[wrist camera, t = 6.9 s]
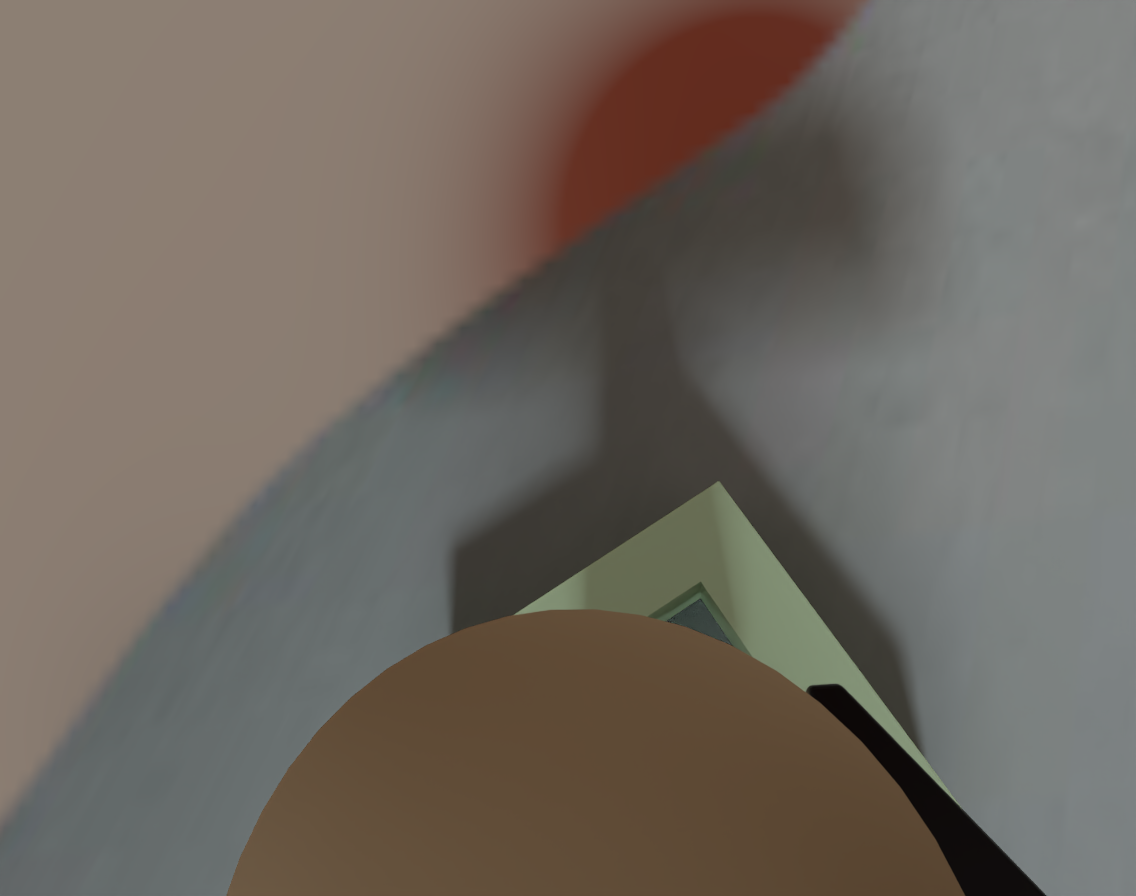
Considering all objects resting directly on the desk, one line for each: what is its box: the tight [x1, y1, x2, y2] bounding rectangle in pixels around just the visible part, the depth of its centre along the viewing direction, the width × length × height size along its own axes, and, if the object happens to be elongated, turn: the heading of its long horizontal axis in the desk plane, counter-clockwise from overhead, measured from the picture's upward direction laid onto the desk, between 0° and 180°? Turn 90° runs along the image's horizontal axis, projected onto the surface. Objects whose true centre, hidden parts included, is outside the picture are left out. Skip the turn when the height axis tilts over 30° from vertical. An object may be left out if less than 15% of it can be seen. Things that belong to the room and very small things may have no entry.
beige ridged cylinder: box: [227, 609, 965, 896], centre depth 9 cm, size 4×4×12 cm
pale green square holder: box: [514, 481, 960, 806], centre depth 20 cm, size 10×10×4 cm
